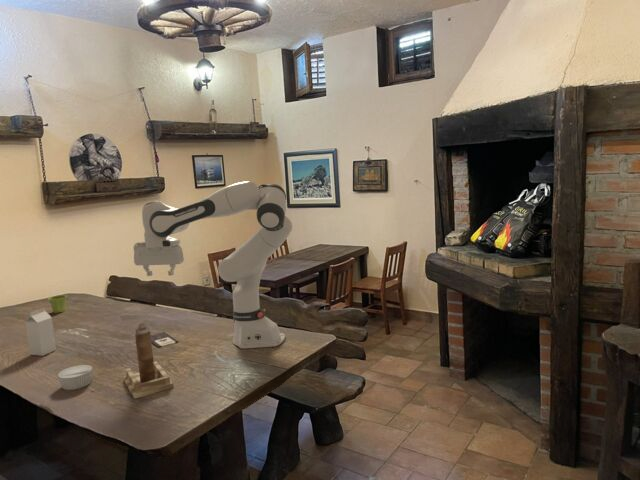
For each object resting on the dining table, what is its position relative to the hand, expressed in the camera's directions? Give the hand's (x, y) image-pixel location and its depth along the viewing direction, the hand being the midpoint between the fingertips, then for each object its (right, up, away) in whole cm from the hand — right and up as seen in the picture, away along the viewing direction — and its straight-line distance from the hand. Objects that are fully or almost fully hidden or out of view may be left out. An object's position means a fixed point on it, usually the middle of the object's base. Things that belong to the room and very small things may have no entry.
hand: (160, 275), depth 190 cm
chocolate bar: (-7, -32, +22) cm, 39 cm away
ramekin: (-23, -38, -21) cm, 49 cm away
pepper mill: (+4, -35, -24) cm, 43 cm away
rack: (+4, -37, -24) cm, 44 cm away
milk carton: (-56, -35, +15) cm, 68 cm away
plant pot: (-87, -28, +82) cm, 122 cm away
